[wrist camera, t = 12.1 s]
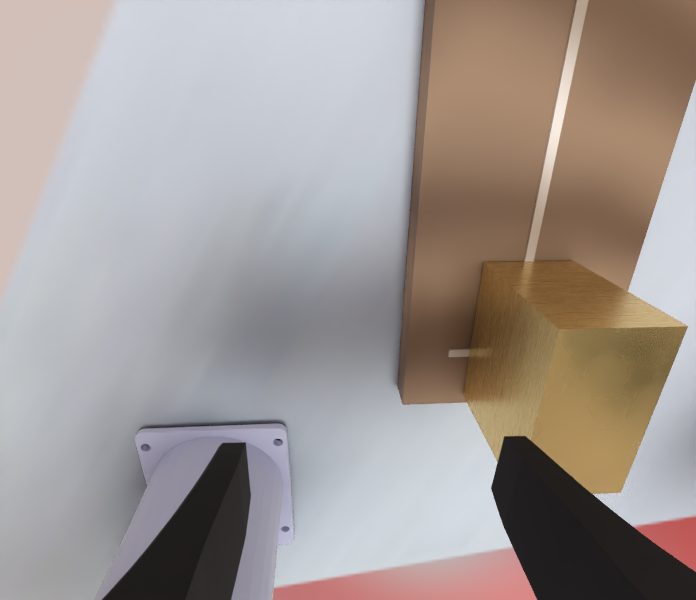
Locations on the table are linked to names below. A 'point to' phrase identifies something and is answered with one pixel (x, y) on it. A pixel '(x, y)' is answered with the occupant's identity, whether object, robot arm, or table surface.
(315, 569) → the table surface
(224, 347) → the table surface
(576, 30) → the board
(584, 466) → the upright wooden block
